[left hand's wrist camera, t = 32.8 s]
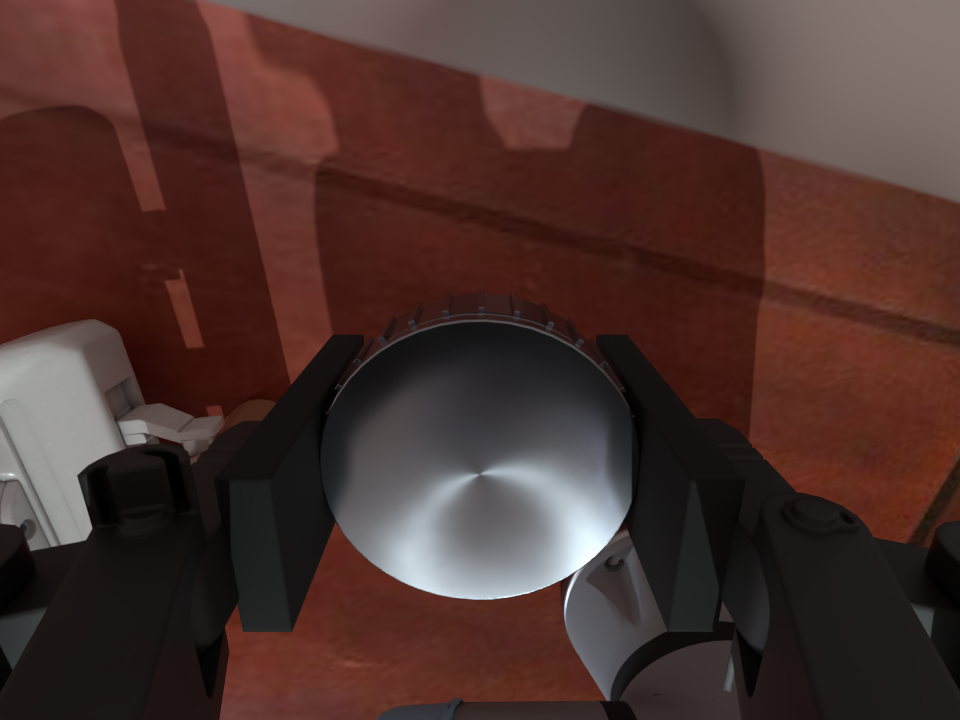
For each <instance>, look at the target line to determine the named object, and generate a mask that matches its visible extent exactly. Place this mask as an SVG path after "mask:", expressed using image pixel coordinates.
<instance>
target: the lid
mask: <svg viewBox="0 0 960 720" xmlns="http://www.w3.org/2000/svg"><path fill="white" fill-rule="evenodd" d="M335 389H336V390H338V393H337V395H336V396H335V398H334V400H333V401H332V403H331V405H330V406H329V408H328V410H327V411H326V413H325V417H324V418H326V420H325V423H324V426H323V429H322V434H321V440H320V447H319V466H320V474H321V483H322V488H323V492H324V495H325V498H326V502H327V505H328V507H329V509H330V511H331V513H332V515H333V518H334V520H335V521H336V523H337V525H338V526H339V528H340V529H341V531H342V532H343V534H344V535H345V537H346V538H347V539H348V540H349V541H350V543H351V544H352V545H353V546H354V547H355V549H356V550H357V551H358V552H360V553H361V554H362V555H363V556H364V557H365V558H366V559H367V560H368V561H369V562H370V563H372V564H373V565H375V566H376V567H377V568H379V569H380V570H382V571H383V572H384V573H386V574H388V575H390V576H391V577H393V578H395V579H397V580H399V581H400V582H402V583H405V584H407V585H410V586H412V587H414V588H417V589H419V590H422V591H426V592H429V593H433V594H436V595H441V596H446V597H451V598H459V599H471V600H487V599H500V598H508V597H514V596H519V595H523V594H527V593H531V592H534V591H537V590H540V589H543V588H545V587H548V586H550V585H553V584H555V583H557V582H559V581H561V580H563V579H565V578H567V577H568V576H570V575H572V574H573V573H575V572H576V571H578V570H580V569H581V568H582V567H584V566H585V565H586V564H587V563H589V562H590V561H591V560H592V559H594V558H595V557H596V556H597V555H598V554H599V553H600V552H601V551H602V550H603V549H604V548H605V547H606V546H607V545H608V544H609V542H610V541H611V540H612V538H613V537H614V536H615V534H616V533H617V532H618V530H619V529H620V527H621V525H622V524H623V522H624V520H625V518H626V517H627V515H628V513H629V510H630V508H631V505H632V503H633V500H634V497H635V494H636V490H637V485H638V480H639V471H640V461H641V457H640V442H639V437H638V433H637V428H636V424H635V421H636V419H635V415H634V414H633V412H632V410H631V409H630V407H629V405H628V403H627V402H626V400H625V398H624V396H623V395H622V393H624V392H626V391H625V389H624V387H623V386H622V384H621V382H620V381H619V379H618V378H617V376H616V374H615V373H614V371H613V370H612V368H611V366H610V365H609V363H608V362H606V360H605V358H604V357H603V355H602V354H601V352H600V350H599V349H598V347H597V345H596V344H595V342H594V341H593V340H592V338H590V339H589V340H587V339H586V338H585V337H584V336H583V335H582V334H581V333H580V332H579V331H578V330H577V328H576V326H575V324H574V323H573V321H572V320H571V319H570V318H568V319H567V320H566V321H565V320H564V319H563V318H561V317H560V316H558V315H557V314H555V313H553V312H551V311H549V310H548V308H547V305H546V304H544V303H541V304H540V306H539V305H536V304H534V303H531V302H528V301H526V300H522V299H518V298H517V296H516V294H514V293H511V294H510V297H509V296H505V295H496V294H486V293H484V290H479V294H462V295H456V296H453V295H452V292H450V293H447V294H446V297H445V298H441V299H438V300H435V301H431V302H428V303H425V304H422V302H421V301H420V302H418V303H416V305H415V307H414V309H412V310H410V311H408V312H407V313H405V314H403V315H402V316H400V317H398V318H397V319H396V318H395V317H394V316H393V317H391V318H390V319H389V321H388V322H387V324H386V326H385V328H384V329H383V330H382V331H380V332H379V333H378V334H377V336H376V337H375V338H373V337H372V336H370V337H369V338H368V339H367V341H366V342H365V344H364V346H363V347H362V349H361V350H360V352H359V354H358V355H357V357H356V359H355V360H354V359H353V360H352V362H351V364H350V365H349V367H348V368H347V370H346V372H345V373H344V375H343V376H342V378H341V380H340V381H339V383H338V384H337V386H336V388H335Z"/></svg>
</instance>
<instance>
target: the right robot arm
mask: <svg viewBox="0 0 960 720" xmlns="http://www.w3.org/2000/svg"><path fill="white" fill-rule="evenodd" d="M225 430H227V429H226V426H225V423H224V420H223V417H222V416H211V417H202V418H194V416H192V415H189V414H187V413H184V412H182V411H179V410H177V409H174V408H172V407H169V406H167V405H164V404H162V403H157V404H149V405H146V404H145V401H144V398H143V396H142V393H141V390H140V387H139V385H138V382H137V379H136V377H135V374H134V371H133V368H132V366H131V363H130V360H129V357H128V355H127V352H126V349H125V346H124V344H123V341H122V338H121V335H120V333H119V332H118V331H117V330H116V329H115V328H113V327H111V326H109V325H107V324H105V323H103V322H101V321H99V320H96V319H89V320H82V321H76V322H71V323H66V324H62V325H58V326H54V327H50V328H47V329H43V330H40V331H37V332H34V333H32V334H29V335H26V336H23V337H20V338H17V339H15V340H12V341H9V342H6V343H3V344H1V345H0V524H10V525H16V526H17V527H19V528H20V529H22V530H23V531H24V533H25V536H26V539H27V542H28V545H29V547H30V550H31V551H33V550H38V549H44V548H49V547H54V546H59V545H65V544H70V543H75V542H80V541H84V540H86V539H87V537H88V535H89V534H90V532H91V530H92V525H91V522H90V518H89V515H88V512H87V508H86V505H85V501H84V498H83V494H82V491H81V488H80V484H79V481H78V477H77V475H78V474H79V473H80V472H81V471H82V470H83V469H85V468H86V467H87V466H88V465H89V464H91V463H93V462H95V461H97V460H99V459H100V458H102V457H104V456H106V455H109V454H112V453H115V452H118V451H121V450H123V449H127V448H132V447H136V446H141V445H146V444H160V442H159V439H158V437H161V438H164V439H167V440H171V441H174V442H177V443H182V445H183V447H184V449H185V450H186V451H188V453H189V456H195V455H199V454H200V453H201V452H204V451H205V450H208V446H209V445H210V444H211V443H212V442H213V441H214V440H215V439H216V438H217V437H218V436H219V435H220V434H221V433H222V432H224V431H225Z"/></svg>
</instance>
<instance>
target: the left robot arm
mask: <svg viewBox="0 0 960 720" xmlns="http://www.w3.org/2000/svg"><path fill="white" fill-rule="evenodd" d="M596 345H597V347H598V349H599V350H600V352H601V354H602V355H603V357H604V358H605V360H606V362H608V363H609V365H610V366H611V368H612V370H613V371H614V373H615V374H616V376H617V378H618V379H619V381H620V382H621V384H622V386H623V387H624V389H625V391H626V392H624V393H622V395H623V396H624V398H625V400H626V402H627V403H628V405H629V407H630V409H631V410H632V412H633V414H634V415H635V419H636V421H635V424H636V428H637V433H638V437H639V442H640V457H641V461H640V471H639V480H638V485H637V490H636V494H635V497H634V500H633V503H632V505H631V508H630V510H629V513H628V515H627V517H626V518H625V520H624V522H623V524H622V525H621V527H620V529H619V530H618V532H617V533H616V534H615V536H614V537H613V538H612V540H611V541H610V542H609V544H608V545H607V546H606V547H605V548H604V549H603V550H602V551H601V552H600V553H599V554H598V555H597V556H596V557H595V558H594V559H592V560H591V561H590V562H589V563H587V564H586V565H585V566H584V567H582V568H581V569H580V570H578V571H576V572H575V573H573V574H572V575H570V576H568V577H567V578H565V579H564V581H563V586H562V596H561V600H562V609H563V614H564V620H565V625H566V630H567V634H568V636H569V639H570V641H571V643H572V645H573V647H574V649H575V650H576V652H577V653H578V655H579V656H580V658H581V660H582V661H583V663H584V664H585V666H586V668H587V669H588V671H589V672H590V674H591V675H592V677H593V679H594V680H595V682H596V683H597V685H598V687H599V688H600V690H601V691H602V693H603V695H604V696H605V698H606V699H607V701H533V702H463V700H462V699H461V698H454V699H452V700H451V701H450V702H449V703H436V704H422V705H408V706H399V707H395V708H392V709H390V710H388V711H386V712H384V713H383V714H382V715H380V716H379V717H378V718H377V719H376V720H960V521H953V522H945V523H943V524H942V525H941V526H939V527H938V528H936V531H935V534H934V537H933V540H932V543H931V546H930V548H925V547H920V546H915V545H909V544H904V543H899V542H893V541H888V540H883V539H878V538H874V537H873V536H872V534H871V533H870V531H869V529H868V527H867V526H866V525H865V524H864V523H863V522H862V521H861V520H860V518H859V517H858V516H856V515H855V514H853V513H852V512H850V511H849V510H847V509H846V508H844V507H843V506H841V505H838V504H836V503H834V502H831V501H829V500H826V499H824V498H821V497H817V496H813V495H809V494H805V493H797V492H796V491H795V490H794V489H793V488H792V487H791V486H790V485H789V484H788V483H787V482H786V481H785V479H784V478H783V477H782V476H781V475H780V474H779V473H778V472H777V471H776V470H775V469H774V468H773V467H772V466H771V465H770V464H769V463H768V461H767V460H763V456H762V455H761V454H760V453H759V452H758V451H757V450H756V449H755V448H752V444H751V443H750V442H749V441H748V440H747V439H746V438H745V437H744V436H743V435H742V434H741V433H740V432H739V431H738V430H736V429H734V428H733V427H731V426H729V425H727V424H725V423H724V422H722V421H720V420H718V419H696V418H695V417H694V416H693V414H692V413H691V412H690V411H689V410H688V408H687V407H686V406H685V405H684V404H683V402H682V401H681V400H680V399H679V398H678V396H677V395H676V394H675V393H674V391H673V390H672V389H671V388H670V387H669V385H668V384H667V383H666V382H665V381H664V379H663V378H662V377H661V376H660V374H659V373H658V372H657V371H656V370H655V368H654V367H653V366H652V365H651V364H650V362H649V361H648V360H647V359H646V357H645V356H644V355H643V354H642V353H641V351H640V350H639V349H638V348H637V347H636V345H635V344H634V343H633V342H632V341H631V339H630V338H629V337H628V336H627V335H596ZM363 346H364V339H363V335H332V336H331V338H330V339H329V340H328V341H327V342H326V344H325V345H324V346H323V347H322V349H321V350H320V351H319V352H318V353H317V355H316V356H315V357H314V358H313V359H312V361H311V362H310V363H309V364H308V366H307V367H306V368H305V369H304V370H303V372H302V373H301V374H300V375H299V376H298V378H297V379H296V380H295V381H294V382H293V384H292V385H291V386H290V387H289V389H288V390H287V391H286V392H285V393H284V395H283V396H282V397H281V398H280V399H279V401H278V402H277V403H276V404H275V406H274V407H273V408H272V409H271V410H270V412H269V413H268V414H267V415H266V416H265V418H264V419H263V420H262V421H242V422H240V423H238V424H236V425H234V426H233V427H231V428H229V429H227V430H225V431H224V432H222V433H221V434H220V435H219V436H218V437H217V438H216V439H215V440H214V441H213V442H212V443H211V444H210V445H209V446H208V450H205V451H204V452H203V453H202V454H201V455H200V456H199V457H198V458H197V462H194V463H193V464H192V465H191V462H190V457H189V453H188V451H186V450H185V449H184V448H182V447H181V446H177V445H171V444H146V445H141V446H136V447H132V448H127V449H123V450H121V451H118V452H115V453H112V454H109V455H106V456H104V457H102V458H100V459H99V460H97V461H95V462H93V463H91V464H89V465H88V466H87V467H86V468H85V469H83V470H82V471H81V472H80V473H79V474H78V475H77V477H78V481H79V484H80V488H81V491H82V494H83V498H84V501H85V505H86V508H87V512H88V515H89V518H90V522H91V525H92V530H91V532H90V534H89V535H88V537H87V539H86V540H84V541H80V542H75V543H70V544H65V545H59V546H54V547H49V548H44V549H38V550H33V551H31V550H30V547H29V545H28V542H27V539H26V536H25V533H24V531H23V530H22V529H20V528H19V527H17V526H16V525H10V524H0V720H219V717H220V711H221V704H222V697H223V690H224V683H225V676H226V670H227V663H228V656H229V648H228V640H227V635H226V631H225V625H226V623H227V622H228V620H229V618H230V616H231V614H232V612H233V611H234V609H235V607H236V605H237V603H238V609H239V614H240V619H241V624H242V629H243V632H292V630H293V628H294V625H295V623H296V620H297V618H298V615H299V613H300V610H301V608H302V605H303V603H304V600H305V598H306V595H307V592H308V590H309V587H310V585H311V582H312V580H313V577H314V575H315V572H316V570H317V567H318V565H319V562H320V560H321V557H322V555H323V552H324V549H325V547H326V544H327V542H328V539H329V537H330V534H331V532H332V529H333V527H334V524H335V522H336V521H335V520H334V518H333V515H332V513H331V511H330V509H329V507H328V505H327V502H326V498H325V495H324V492H323V488H322V483H321V474H320V466H319V447H320V440H321V434H322V429H323V426H324V423H325V420H326V418H324V417H325V413H326V411H327V410H328V408H329V406H330V405H331V403H332V401H333V400H334V398H335V396H336V395H337V393H338V390H336V389H335V388H336V386H337V384H338V383H339V381H340V380H341V378H342V376H343V375H344V373H345V372H346V370H347V368H348V367H349V365H350V364H351V362H352V360H353V359H354V360H355V359H356V357H357V355H358V354H359V352H360V350H361V349H362V347H363Z"/></svg>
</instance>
